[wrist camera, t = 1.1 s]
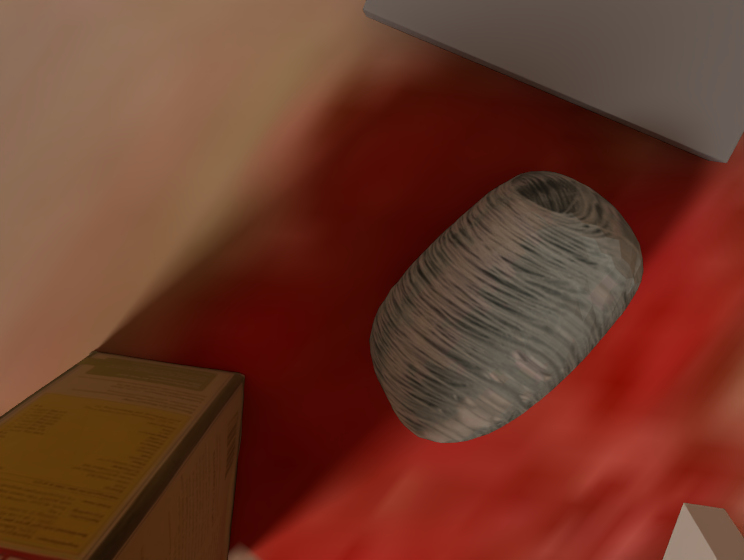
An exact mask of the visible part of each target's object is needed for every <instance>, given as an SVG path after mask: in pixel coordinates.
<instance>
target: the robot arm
mask: <svg viewBox="0 0 744 560" xmlns="http://www.w3.org/2000/svg"><path fill="white" fill-rule="evenodd" d="M663 560H744V538H743V536H742V535H741V533H740V532H739V530H738V529H737V527H736V526H735V524H734V523H733V521H732V520H731V518H730V517H729V515H728V514H727V512H726V511H725V509H721V508H715V507H708V506H702V505H695V504H688V503H683V506H682V509H681V511H680V514H679V517H678V520H677V522H676V525H675V528H674V530H673V533H672V536H671V538H670V541H669V544H668V547H667V549H666V552H665V555H664V557H663Z"/></svg>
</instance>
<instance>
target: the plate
mask: <svg viewBox="0 0 744 560" xmlns="http://www.w3.org/2000/svg"><path fill="white" fill-rule="evenodd" d="M363 11H364V13H365V15H366V16H367V17H369V18H372V19H374V20H376V21H379V22H381V23H383V24H386V25H388V26H391V27H393V28H395V29H398V30H400V31H402V32H405V33H407V34H410V35H412V36H414V37H417V38H419V39H421V40H424V41H426V42H429V43H431V44H433V45H436V46H438V47H440V48H443V49H445V50H448V51H450V52H452V53H455V54H457V55H459V56H462V57H464V58H466V59H469V60H471V61H474V62H476V63H478V64H481V65H483V66H485V67H488V68H490V69H493V70H495V71H497V72H500V73H502V74H504V75H507V76H509V77H512V78H514V79H516V80H519V81H521V82H523V83H526V84H528V85H531V86H533V87H535V88H538V89H540V90H542V91H545V92H547V93H550V94H552V95H554V96H557V97H559V98H561V99H564V100H566V101H568V102H571V103H573V104H576V105H578V106H580V107H583V108H585V109H587V110H590V111H592V112H595V113H597V114H599V115H602V116H604V117H606V118H609V119H611V120H614V121H616V122H618V123H621V124H623V125H625V126H628V127H630V128H633V129H635V130H637V131H640V132H642V133H644V134H647V135H649V136H651V137H654V138H656V139H659V140H661V141H663V142H666V143H668V144H670V145H673V146H675V147H678V148H680V149H682V150H685V151H687V152H689V153H692V154H694V155H697V156H699V157H701V158H704V159H706V160H708V161H716V162H723V163H727V162H728V160H729V158H730V156H731V154H732V152H733V150H734V148H735V147H736V145H737V143H738V141H739V139H740V137H741V135H742V134H743V132H744V0H366V2H365V5H364V8H363Z"/></svg>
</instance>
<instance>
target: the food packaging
mask: <svg viewBox="0 0 744 560" xmlns="http://www.w3.org/2000/svg"><path fill="white" fill-rule="evenodd" d="M244 381H245V376H244V375H242V374H241V373H236V372H229V371H223V370H216V369H208V368H200V367H193V366H186V365H179V364H172V363H166V362H159V361H153V360H147V359H140V358H133V357H127V356H122V355H115V354H108V353H101V352H97V351H93V352H91V353H90V354H89V356H87V357H86V358H85V359H83V360H82V361H80V362H79V363H77V364H76V365H74V366H73V367H72V368H70V369H69V370H67V371H66V372H64V373H63V374H61V375H60V376H59V377H57V378H56V379H54V380H53V381H51V382H50V383H48V384H47V385H45V386H44V387H42V388H41V389H39V390H38V391H37V392H35V393H34V394H32V395H31V396H29V397H28V398H26V399H25V400H23V401H22V402H21V403H19V404H18V405H16V406H15V407H14V408H12V409H11V410H9V411H8V412H6V413H5V414H4V415H2V416H1V417H0V560H228V552H229V543H230V533H231V524H232V515H233V505H234V495H235V486H236V475H237V461H238V454H239V448H240V443H241V430H242V414H243V402H244Z"/></svg>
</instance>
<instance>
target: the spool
mask: <svg viewBox="0 0 744 560" xmlns="http://www.w3.org/2000/svg"><path fill="white" fill-rule="evenodd" d="M642 274H643V259H642V254H641V249H640V244H639V242H638V240H637V238H636V236H635V235H634V233H633V231H632V229H631V227H630V226H629V225H628V223H627V222H626V221H625V219H624V218H623V217H622V215H621V214H620V213H619V212H618V211H617V209H616V208H615V207H614V206H613V205H612V204H610V203H609V202H608V201H607V200H606V199H604V198H603V197H602V196H601V195H599V194H598V193H597V192H595V191H594V190H593V189H591V188H590V187H588V186H586V185H584V184H582V183H580V182H578V181H576V180H574V179H572V178H570V177H567V176H565V175H562V174H559V173H555V172H548V171H535V172H527V173H523V174H520V175H518V176H516V177H514V178H512V179H510V180H509V181H507V182H505V183H504V184H502V185H500V186H498V187H497V188H495V189H493V190H492V191H490V192H489V193H488V194H486V195H485V196H484V197H483V198H482V199H481V200H480V201H478V202H477V203H476V204H475V205H474V206H473V207H471V208H470V209H469V210H468V211H467V212H466V213H464V214H463V215H462V216H461V217H460V218H459V219H458V220H457V221H456V222H455V223H454V224H452V225H451V226H450V227H449V228H448V229H446V230H445V231H444V232H443V233H442V234H441V235H440V236H439V237H438V238H437V239H436V240H435V241H434V242H433V243H432V244H431V245H430V246H429V247H428V248H427V249H426V250H425V251H424V252H423V253H422V254H421V255H420V256H419V257H418V258H417V260H416V261H415V262H414V263H413V264H412V265H411V266H410V267H409V268H408V270H407V271H406V272H405V273H404V275H403V276H402V277H401V279H400V280H399V281H398V282H397V283H396V284H395V285H394V286H393V287H392V289H391V290H390V292H389V294H388V295H387V297H386V299H385V300H384V302H383V303H382V304H381V306H380V307H379V309H378V311H377V314H376V316H375V319H374V322H373V326H372V331H371V335H370V339H369V341H370V351H371V357H372V361H373V365H374V370H375V373H376V375H377V378H378V380H379V382H380V384H381V386H382V388H383V390H384V392H385V394H386V396H387V398H388V400H389V402H390V404H391V406H392V409H393V410H394V412H395V413H396V415H397V416H398V418H399V419H400V421H401V422H402V423H403V424H404V425H405V426H406V427H407V428H408V429H409V430H410V431H412V432H413V433H414V434H415V435H417V436H418V437H421V438H424V439H428V440H431V441H435V442H441V443H451V442H462V441H467V440H470V439H474V438H477V437H480V436H483V435H486V434H489V433H491V432H493V431H495V430H497V429H499V428H501V427H502V426H504V425H505V424H507V423H509V422H510V421H512V420H514V419H515V418H517V417H518V416H520V415H521V414H523V413H524V412H526V411H527V410H528V409H529V408H531V407H532V406H533V405H534V404H536V403H537V402H538V401H540V400H541V399H542V398H543V397H544V396H546V395H547V394H548V393H549V392H550V391H551V390H553V389H554V388H555V387H556V386H557V385H558V384H559V383H560V382H561V381H562V380H563V379H564V378H565V377H566V376H567V375H569V374H570V373H571V372H572V371H573V370H574V369H575V368H576V367H577V365H578V364H579V363H580V362H581V361H582V360H583V359H584V358H585V357H586V356H587V355H588V354H589V353H590V351H591V350H592V349H593V348H594V347H595V346H596V344H597V343H598V342H599V341H600V340H601V339H602V337H603V336H604V335H605V334H606V333H607V331H608V330H609V329H610V328H611V326H612V325H613V324H614V323H615V321H616V320H617V319H618V318H619V317H620V316H621V315H622V313H623V312H624V310H625V309H626V308H627V306H628V305H629V303H630V301H631V300H632V298H633V296H634V295H635V293H636V291H637V290H638V287H639V285H640V282H641V279H642Z"/></svg>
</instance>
